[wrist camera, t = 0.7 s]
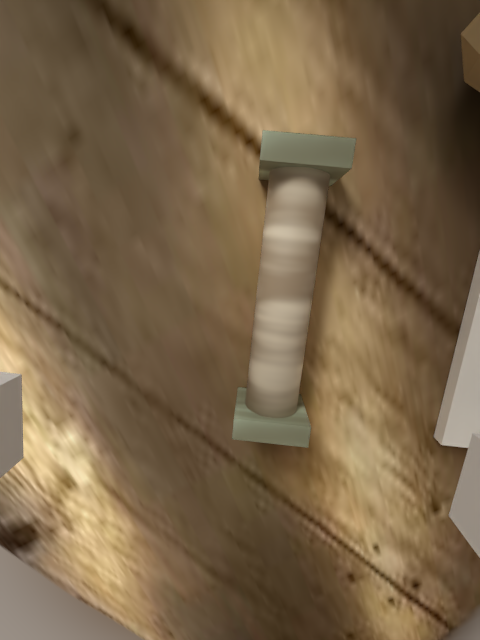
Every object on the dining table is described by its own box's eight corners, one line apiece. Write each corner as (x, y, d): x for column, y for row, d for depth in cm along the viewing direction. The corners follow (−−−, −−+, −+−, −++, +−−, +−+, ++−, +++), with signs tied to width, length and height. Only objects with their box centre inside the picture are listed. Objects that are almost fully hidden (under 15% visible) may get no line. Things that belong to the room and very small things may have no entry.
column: (261, 156, 24) (262, 130, 19) (334, 162, 24) (356, 138, 19) (236, 404, 28) (231, 439, 23) (298, 410, 28) (308, 447, 23)
